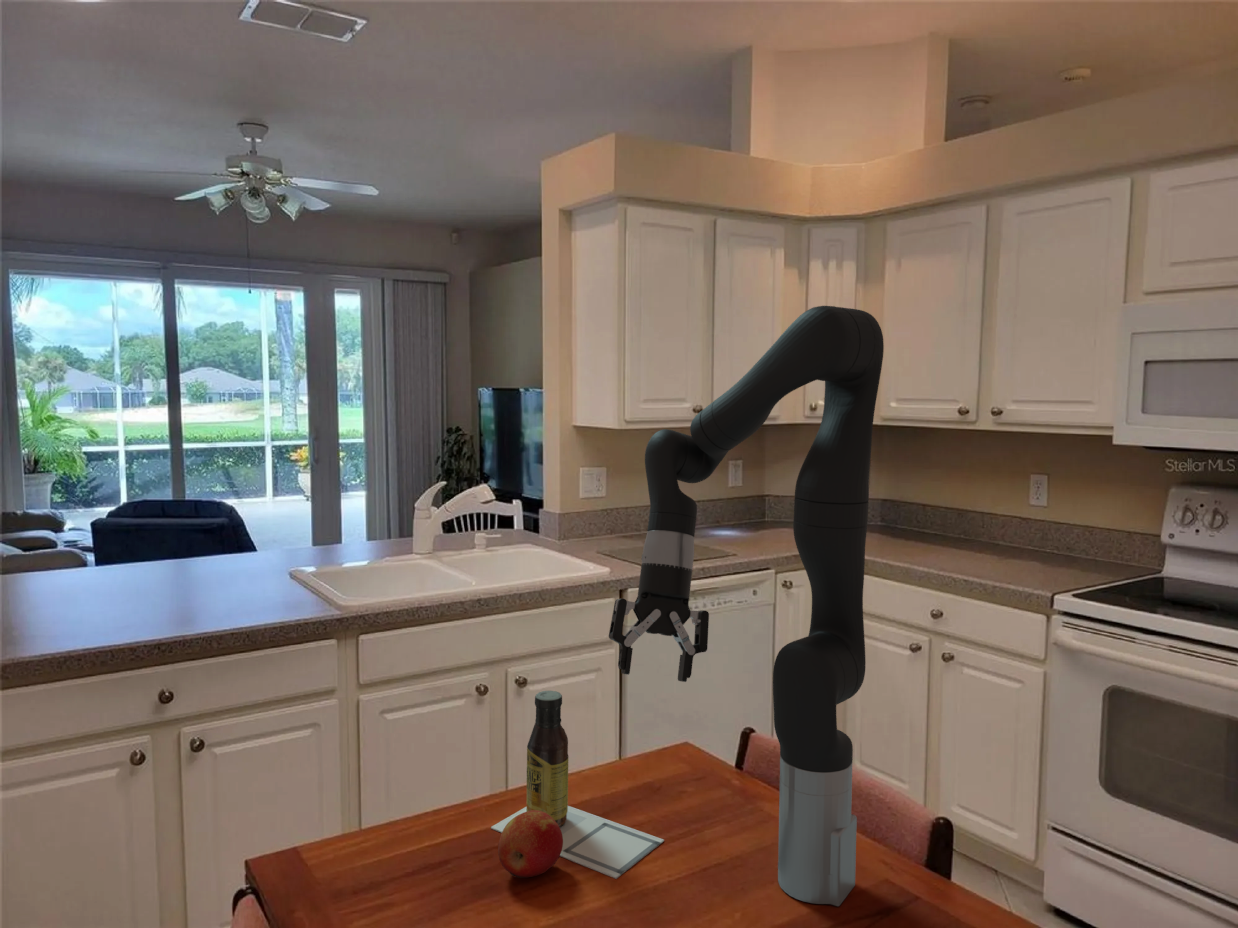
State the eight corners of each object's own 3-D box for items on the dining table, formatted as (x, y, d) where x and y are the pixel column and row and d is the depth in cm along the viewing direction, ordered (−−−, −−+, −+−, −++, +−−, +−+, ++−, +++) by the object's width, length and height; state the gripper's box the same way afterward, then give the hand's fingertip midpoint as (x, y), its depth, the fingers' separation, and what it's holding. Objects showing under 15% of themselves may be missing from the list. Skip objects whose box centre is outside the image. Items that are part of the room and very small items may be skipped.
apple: (571, 868, 115) (571, 811, 114) (532, 897, 108) (531, 837, 107) (527, 850, 119) (526, 796, 119) (486, 877, 112) (485, 820, 112)
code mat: (664, 840, 122) (664, 839, 122) (616, 878, 112) (616, 877, 112) (543, 797, 135) (543, 796, 135) (490, 828, 125) (490, 826, 125)
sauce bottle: (522, 815, 129) (521, 689, 127) (561, 809, 131) (560, 684, 130) (533, 836, 123) (532, 703, 121) (573, 828, 125) (573, 698, 124)
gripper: (627, 556, 119) (612, 673, 115) (721, 570, 122) (709, 685, 118) (614, 559, 126) (600, 670, 122) (704, 573, 129) (692, 681, 125)
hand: (653, 677), depth 120 cm, fingers open, 8 cm apart
